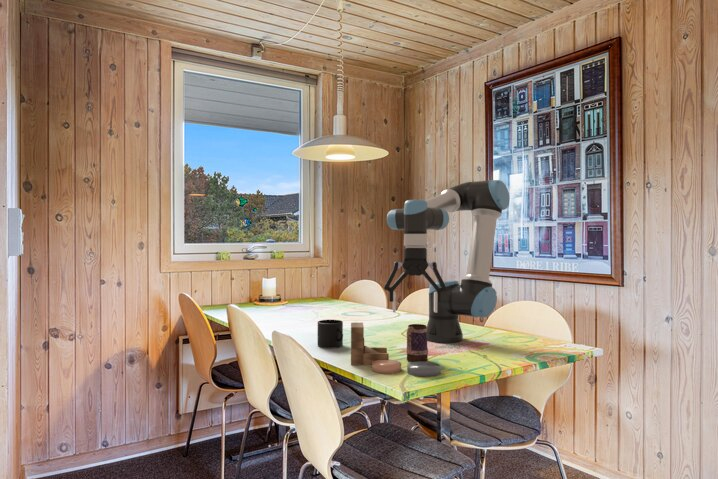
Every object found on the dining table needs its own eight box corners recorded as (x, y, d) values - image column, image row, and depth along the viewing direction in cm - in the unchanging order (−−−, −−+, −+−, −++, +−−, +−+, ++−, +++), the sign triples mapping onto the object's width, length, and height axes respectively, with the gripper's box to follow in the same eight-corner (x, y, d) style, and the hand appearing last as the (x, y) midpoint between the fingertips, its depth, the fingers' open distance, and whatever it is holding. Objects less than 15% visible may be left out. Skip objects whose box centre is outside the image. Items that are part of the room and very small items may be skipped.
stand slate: (437, 367, 156) (437, 361, 156) (443, 376, 146) (443, 370, 146) (405, 367, 156) (405, 361, 156) (409, 376, 146) (409, 370, 146)
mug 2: (412, 357, 170) (412, 321, 170) (431, 359, 166) (431, 323, 166) (397, 363, 162) (397, 326, 162) (417, 366, 158) (417, 328, 158)
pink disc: (399, 365, 159) (399, 359, 159) (402, 373, 150) (402, 366, 150) (371, 365, 158) (371, 359, 158) (372, 373, 149) (372, 366, 149)
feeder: (386, 358, 168) (386, 322, 168) (388, 365, 159) (388, 327, 159) (350, 358, 168) (351, 322, 168) (350, 365, 159) (351, 327, 159)
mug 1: (332, 350, 179) (332, 325, 179) (312, 345, 188) (312, 321, 188) (352, 347, 185) (352, 322, 185) (332, 341, 194) (332, 318, 194)
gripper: (450, 247, 168) (450, 310, 168) (376, 246, 168) (376, 310, 168) (455, 247, 160) (455, 313, 160) (377, 247, 160) (377, 313, 160)
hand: (414, 312), depth 164 cm, fingers open, 13 cm apart
